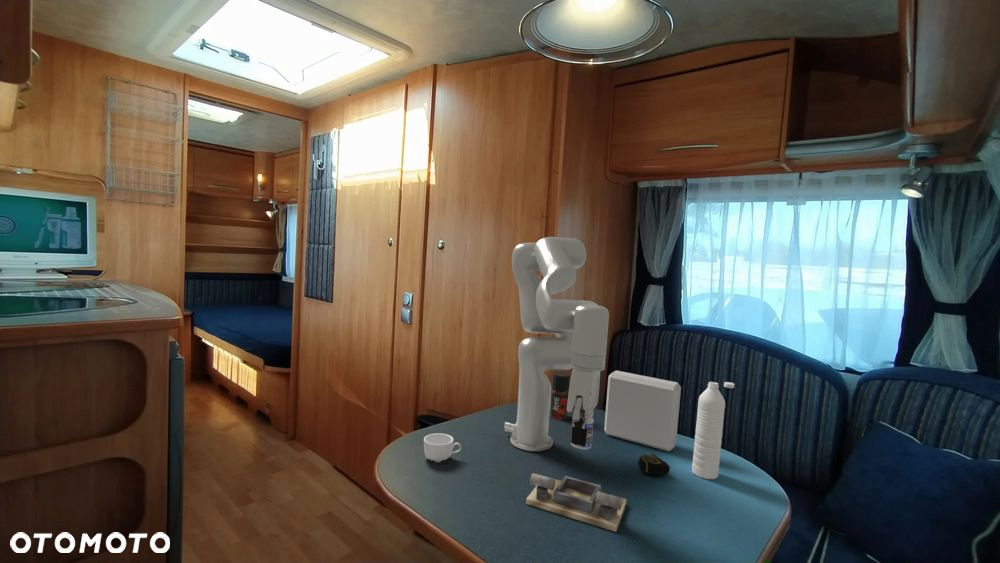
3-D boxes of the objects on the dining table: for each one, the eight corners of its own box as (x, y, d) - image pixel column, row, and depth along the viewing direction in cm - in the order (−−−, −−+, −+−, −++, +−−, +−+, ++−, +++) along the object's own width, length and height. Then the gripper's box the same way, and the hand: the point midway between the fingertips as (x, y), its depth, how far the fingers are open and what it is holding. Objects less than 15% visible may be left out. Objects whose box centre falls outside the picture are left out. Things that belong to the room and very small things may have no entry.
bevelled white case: (677, 445, 141) (683, 381, 139) (671, 454, 134) (677, 387, 133) (610, 427, 152) (615, 368, 151) (602, 435, 145) (607, 373, 144)
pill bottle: (587, 452, 100) (590, 414, 99) (567, 445, 102) (570, 409, 102) (595, 444, 104) (597, 408, 103) (575, 439, 106) (578, 403, 106)
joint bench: (525, 503, 103) (527, 479, 102) (543, 480, 113) (545, 458, 113) (616, 532, 94) (618, 505, 94) (626, 504, 105) (628, 480, 105)
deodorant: (549, 418, 157) (552, 375, 156) (550, 412, 163) (553, 371, 162) (566, 420, 156) (570, 377, 155) (567, 414, 162) (570, 372, 161)
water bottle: (698, 479, 119) (707, 385, 118) (687, 467, 126) (695, 378, 124) (731, 480, 120) (740, 387, 118) (718, 469, 126) (727, 380, 124)
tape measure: (670, 477, 120) (671, 463, 120) (648, 479, 118) (649, 465, 118) (654, 465, 126) (655, 452, 126) (632, 467, 124) (633, 453, 124)
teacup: (421, 465, 118) (422, 444, 117) (424, 451, 125) (425, 432, 125) (460, 466, 118) (461, 445, 118) (460, 453, 126) (461, 433, 126)
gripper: (581, 351, 111) (575, 424, 112) (560, 365, 96) (553, 450, 97) (612, 356, 108) (606, 431, 109) (595, 371, 92) (588, 459, 94)
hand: (581, 439), depth 103 cm, fingers closed on pill bottle, 4 cm apart
